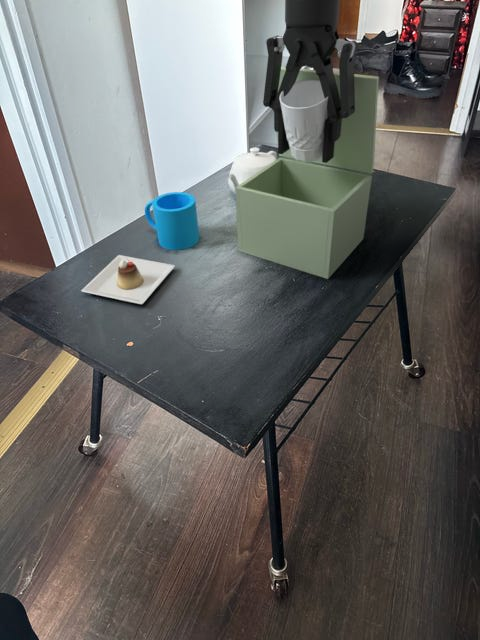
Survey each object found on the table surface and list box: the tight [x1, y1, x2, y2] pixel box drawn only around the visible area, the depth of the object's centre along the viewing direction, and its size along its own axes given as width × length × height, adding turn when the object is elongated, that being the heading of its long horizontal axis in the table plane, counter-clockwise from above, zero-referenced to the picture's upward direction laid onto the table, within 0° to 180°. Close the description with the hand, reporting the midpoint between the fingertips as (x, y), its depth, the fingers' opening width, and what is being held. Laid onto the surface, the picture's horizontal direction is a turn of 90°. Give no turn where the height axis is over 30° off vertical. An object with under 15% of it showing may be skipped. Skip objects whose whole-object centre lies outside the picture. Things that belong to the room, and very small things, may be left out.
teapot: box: [227, 146, 278, 195], centre depth 106 cm, size 20×12×10 cm, turn 148°
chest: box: [235, 156, 373, 280], centre depth 87 cm, size 16×19×13 cm
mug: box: [144, 191, 200, 251], centre depth 93 cm, size 12×8×8 cm
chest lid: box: [276, 66, 380, 175], centre depth 82 cm, size 16×19×6 cm
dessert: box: [80, 254, 176, 305], centre depth 82 cm, size 12×12×5 cm
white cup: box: [279, 80, 330, 163], centre depth 77 cm, size 8×8×10 cm
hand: (305, 155), depth 80 cm, fingers closed on white cup, 8 cm apart
